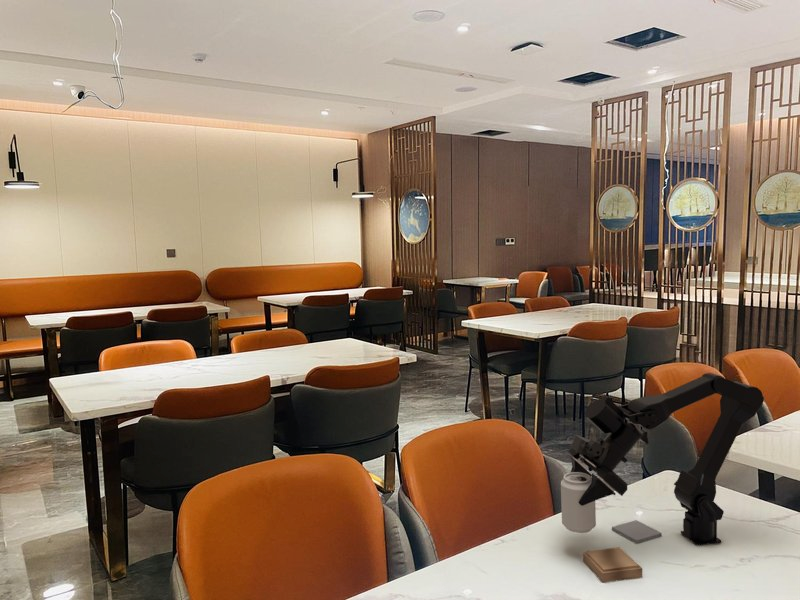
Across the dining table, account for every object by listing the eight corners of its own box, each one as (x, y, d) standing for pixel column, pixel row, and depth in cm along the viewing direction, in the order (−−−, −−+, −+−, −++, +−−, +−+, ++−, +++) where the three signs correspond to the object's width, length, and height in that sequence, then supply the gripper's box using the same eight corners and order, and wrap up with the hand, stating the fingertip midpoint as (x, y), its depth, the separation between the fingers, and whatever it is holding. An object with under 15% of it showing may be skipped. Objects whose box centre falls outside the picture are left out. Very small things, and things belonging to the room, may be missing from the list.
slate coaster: (636, 523, 155) (636, 520, 155) (661, 536, 148) (661, 532, 148) (611, 530, 152) (611, 526, 152) (636, 543, 145) (636, 540, 145)
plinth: (620, 556, 139) (620, 545, 139) (642, 577, 130) (642, 566, 130) (583, 561, 138) (582, 550, 137) (602, 582, 129) (602, 571, 128)
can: (600, 533, 137) (599, 481, 136) (566, 535, 137) (565, 483, 136) (590, 518, 145) (589, 469, 144) (558, 520, 145) (556, 471, 144)
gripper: (575, 412, 149) (532, 461, 148) (613, 435, 130) (565, 491, 130) (606, 441, 151) (564, 490, 150) (648, 467, 132) (601, 523, 131)
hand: (572, 497), depth 140 cm, fingers closed on can, 7 cm apart
